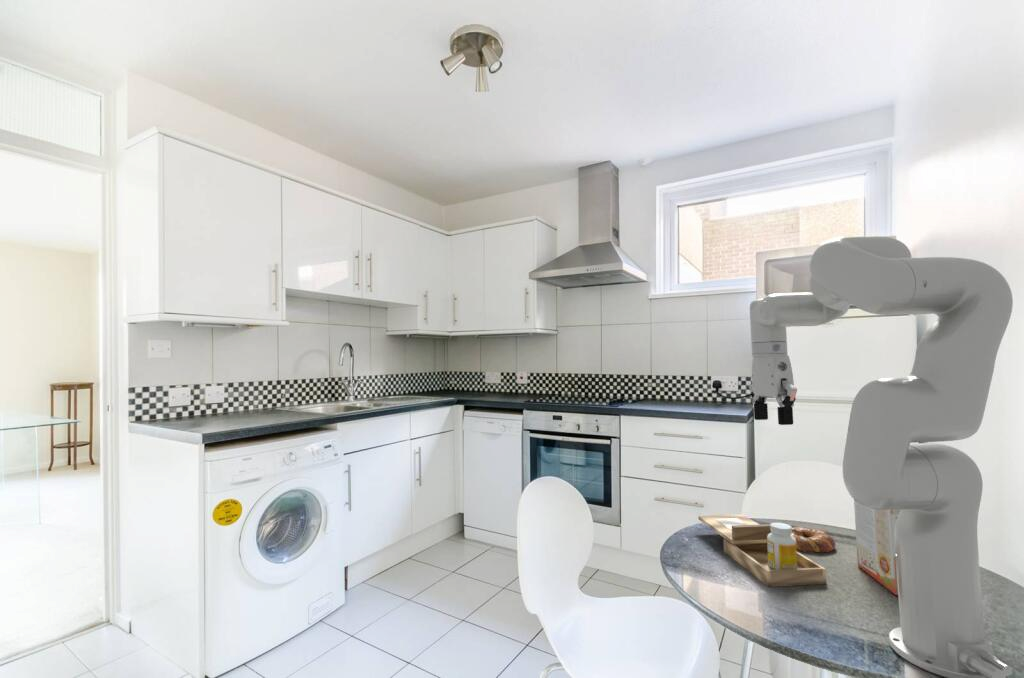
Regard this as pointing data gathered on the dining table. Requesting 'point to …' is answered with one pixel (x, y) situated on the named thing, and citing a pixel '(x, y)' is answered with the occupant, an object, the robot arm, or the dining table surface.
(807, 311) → the robot arm
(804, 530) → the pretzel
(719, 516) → the lid
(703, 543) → the dining table surface
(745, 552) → the light wood shallow tray
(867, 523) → the cracker box
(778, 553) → the supplement bottle
